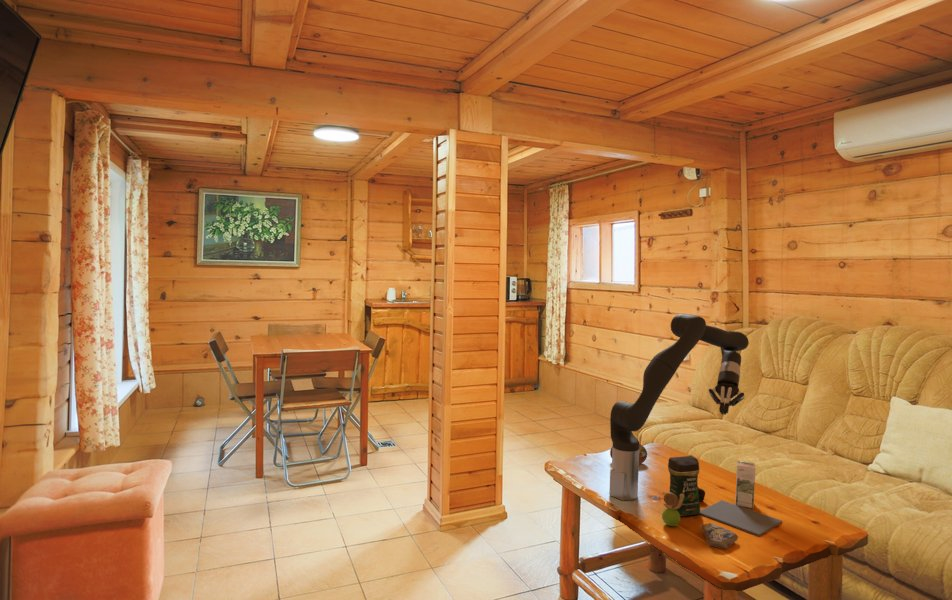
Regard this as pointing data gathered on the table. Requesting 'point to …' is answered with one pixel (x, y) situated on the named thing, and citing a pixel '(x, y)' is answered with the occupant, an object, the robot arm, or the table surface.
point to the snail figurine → (672, 509)
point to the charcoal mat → (740, 517)
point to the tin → (641, 454)
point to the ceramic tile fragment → (718, 536)
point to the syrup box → (745, 484)
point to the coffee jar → (685, 483)
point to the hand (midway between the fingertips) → (723, 413)
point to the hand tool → (701, 494)
